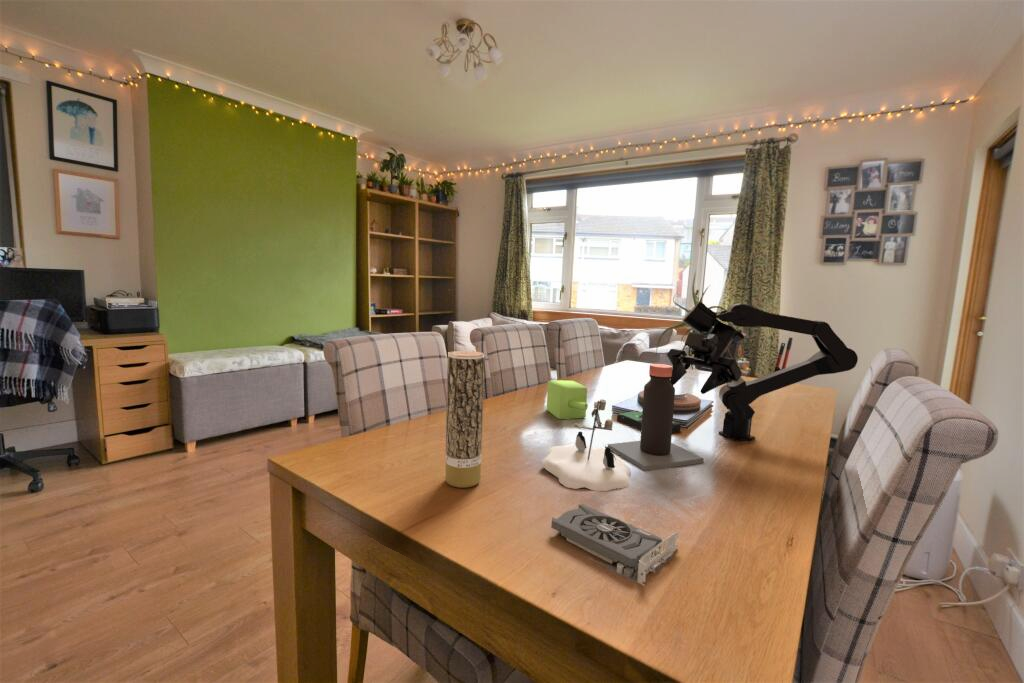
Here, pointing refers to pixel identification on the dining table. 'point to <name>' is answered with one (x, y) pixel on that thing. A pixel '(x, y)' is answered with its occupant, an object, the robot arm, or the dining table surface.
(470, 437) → the paper tube
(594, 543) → the graphics card
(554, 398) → the gearbox
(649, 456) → the mat
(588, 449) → the figurine
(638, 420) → the disk drive
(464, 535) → the dining table surface
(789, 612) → the dining table surface
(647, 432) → the brown bottle
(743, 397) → the robot arm
